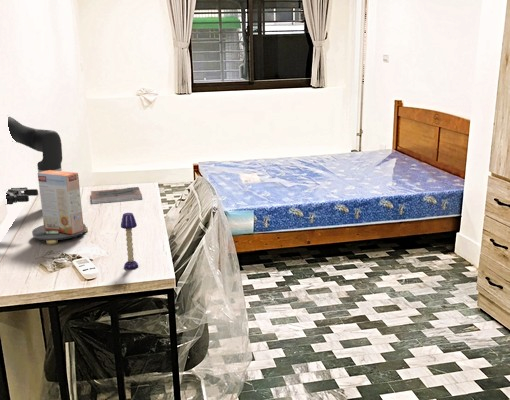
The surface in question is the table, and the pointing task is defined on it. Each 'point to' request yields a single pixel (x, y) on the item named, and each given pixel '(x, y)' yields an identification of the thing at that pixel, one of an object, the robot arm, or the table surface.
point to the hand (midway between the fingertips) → (33, 195)
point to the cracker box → (61, 201)
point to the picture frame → (115, 195)
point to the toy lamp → (129, 238)
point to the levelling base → (53, 235)
